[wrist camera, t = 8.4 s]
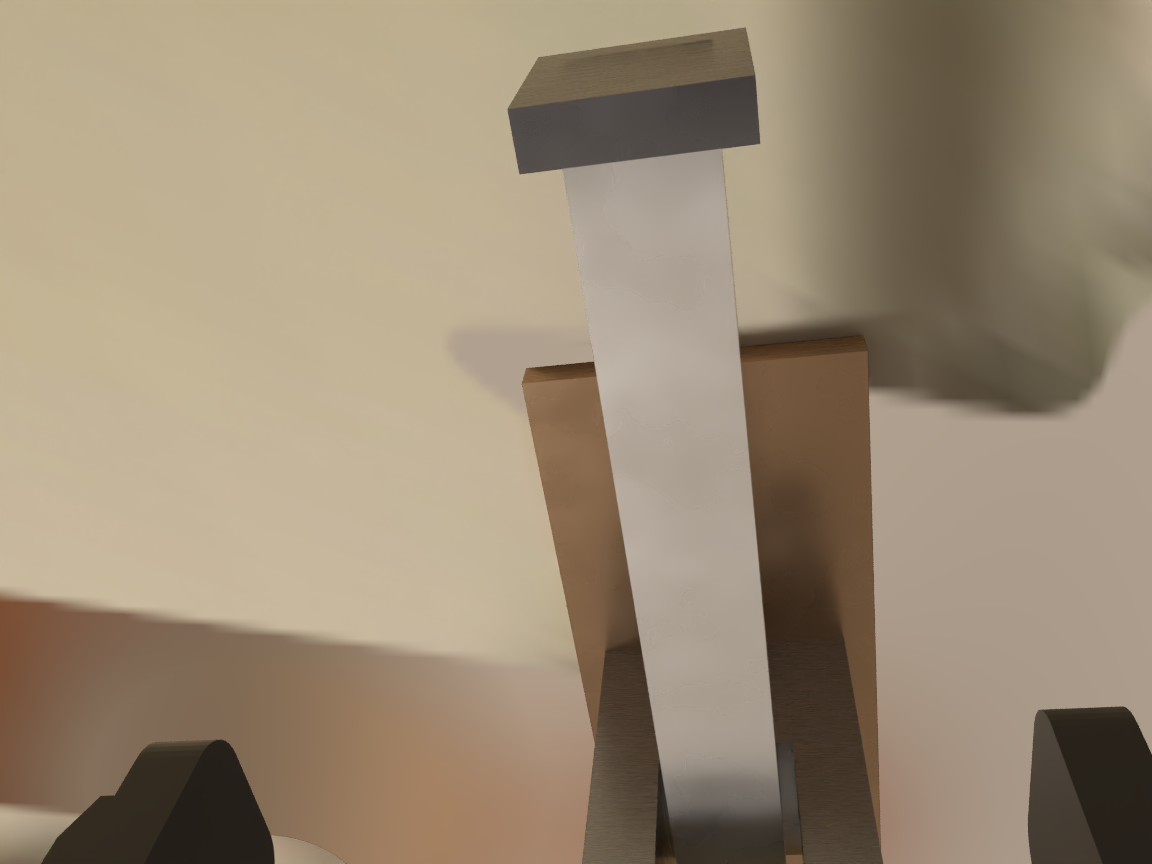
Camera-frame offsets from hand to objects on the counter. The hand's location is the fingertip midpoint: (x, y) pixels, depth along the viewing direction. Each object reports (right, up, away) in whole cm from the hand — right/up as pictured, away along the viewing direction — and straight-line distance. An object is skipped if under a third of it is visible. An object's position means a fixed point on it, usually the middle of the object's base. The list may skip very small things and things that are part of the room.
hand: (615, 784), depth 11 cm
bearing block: (+5, -5, +28) cm, 29 cm away
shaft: (+3, +1, +18) cm, 18 cm away
